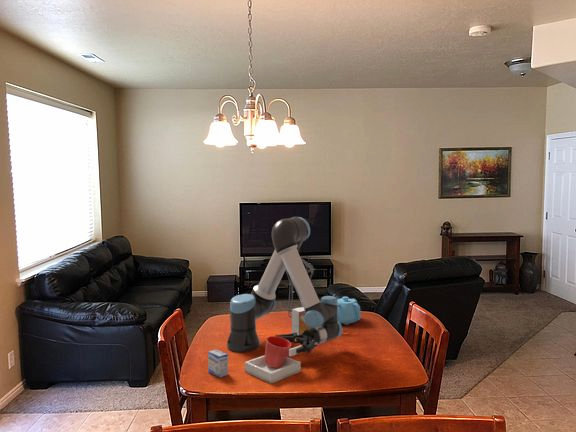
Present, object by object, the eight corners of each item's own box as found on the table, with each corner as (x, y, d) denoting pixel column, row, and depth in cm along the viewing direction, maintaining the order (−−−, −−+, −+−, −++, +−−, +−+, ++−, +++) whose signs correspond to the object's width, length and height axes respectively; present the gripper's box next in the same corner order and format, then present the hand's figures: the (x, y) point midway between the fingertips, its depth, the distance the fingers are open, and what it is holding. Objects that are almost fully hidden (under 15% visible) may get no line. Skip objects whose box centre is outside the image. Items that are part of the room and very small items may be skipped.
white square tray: (271, 383, 187) (271, 373, 187) (244, 371, 199) (244, 362, 199) (300, 371, 198) (300, 362, 198) (273, 360, 210) (273, 351, 210)
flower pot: (255, 361, 199) (261, 339, 198) (268, 354, 209) (274, 333, 208) (278, 372, 195) (284, 349, 194) (290, 364, 205) (295, 343, 204)
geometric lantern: (286, 326, 257) (285, 260, 254) (286, 318, 272) (284, 256, 270) (316, 325, 257) (315, 259, 255) (314, 317, 273) (313, 255, 270)
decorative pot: (361, 326, 255) (361, 301, 254) (330, 326, 257) (330, 300, 256) (359, 317, 272) (360, 293, 270) (330, 316, 273) (330, 293, 272)
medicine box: (207, 372, 199) (207, 351, 198) (216, 369, 202) (216, 348, 201) (219, 377, 193) (219, 356, 192) (228, 374, 196) (228, 353, 195)
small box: (298, 337, 239) (298, 311, 238) (291, 334, 244) (291, 308, 243) (312, 334, 243) (312, 309, 242) (304, 331, 249) (304, 306, 248)
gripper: (335, 352, 205) (299, 366, 191) (294, 337, 223) (258, 349, 209) (335, 334, 205) (299, 347, 190) (294, 321, 223) (258, 332, 208)
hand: (278, 348), depth 199 cm, fingers open, 13 cm apart
